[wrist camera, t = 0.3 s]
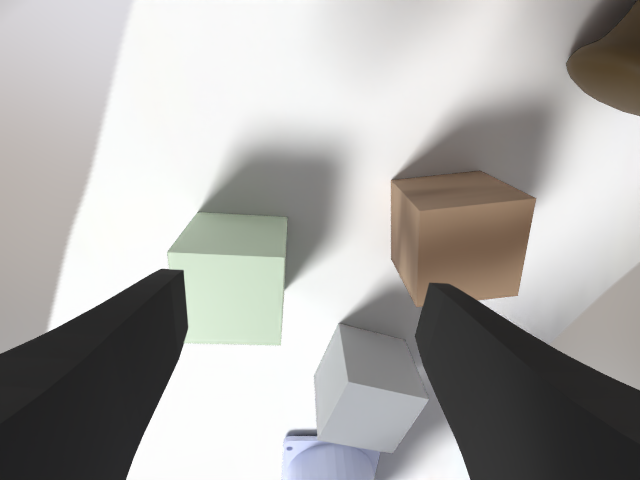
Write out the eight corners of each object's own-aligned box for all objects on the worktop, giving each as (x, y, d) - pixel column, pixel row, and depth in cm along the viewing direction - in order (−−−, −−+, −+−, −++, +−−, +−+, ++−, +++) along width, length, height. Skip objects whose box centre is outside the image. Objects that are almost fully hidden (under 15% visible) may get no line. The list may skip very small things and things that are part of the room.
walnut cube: (470, 249, 21) (517, 295, 17) (390, 258, 21) (416, 307, 17) (479, 170, 19) (535, 198, 14) (390, 179, 19) (419, 210, 14)
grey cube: (376, 388, 26) (392, 453, 21) (314, 374, 25) (317, 440, 20) (404, 339, 24) (429, 399, 19) (338, 322, 23) (348, 381, 18)
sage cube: (284, 289, 22) (280, 345, 17) (203, 286, 21) (177, 343, 17) (287, 216, 20) (284, 257, 15) (198, 211, 19) (167, 252, 15)
